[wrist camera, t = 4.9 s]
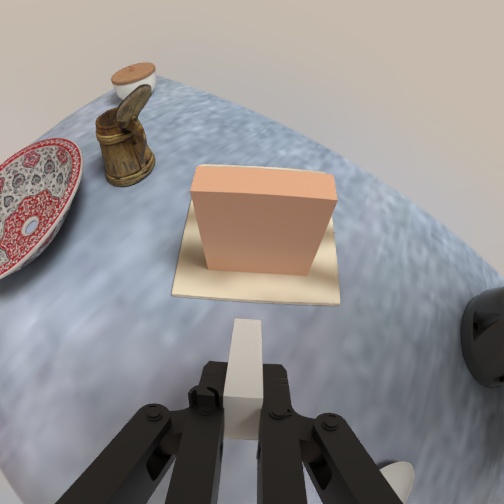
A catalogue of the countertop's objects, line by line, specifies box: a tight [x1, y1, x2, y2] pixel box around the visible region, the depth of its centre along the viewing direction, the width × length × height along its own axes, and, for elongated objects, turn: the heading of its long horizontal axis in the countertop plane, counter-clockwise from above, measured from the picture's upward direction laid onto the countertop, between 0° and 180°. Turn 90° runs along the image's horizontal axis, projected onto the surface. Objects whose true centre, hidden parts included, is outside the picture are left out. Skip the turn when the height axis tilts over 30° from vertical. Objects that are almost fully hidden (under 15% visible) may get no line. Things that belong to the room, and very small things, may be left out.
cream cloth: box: [172, 164, 340, 306], centre depth 39 cm, size 22×20×1 cm
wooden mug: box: [96, 84, 155, 187], centre depth 37 cm, size 9×14×18 cm, turn 57°
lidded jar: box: [111, 63, 156, 100], centre depth 55 cm, size 11×11×9 cm
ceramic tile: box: [190, 166, 337, 276], centre depth 30 cm, size 3×12×14 cm, turn 87°
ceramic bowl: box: [0, 138, 83, 279], centre depth 35 cm, size 29×29×8 cm
